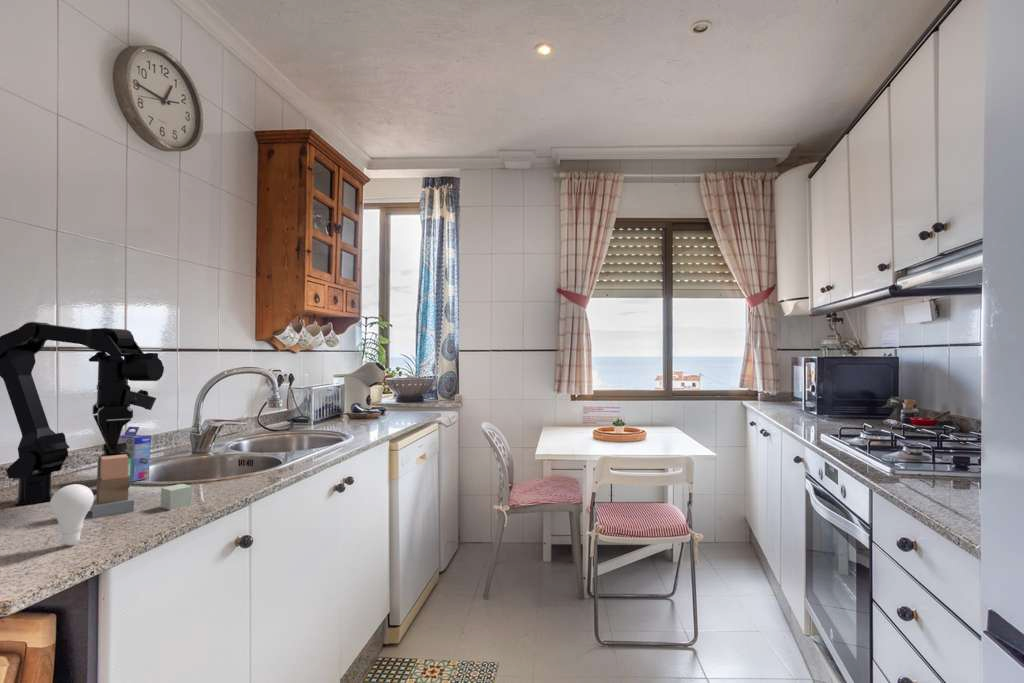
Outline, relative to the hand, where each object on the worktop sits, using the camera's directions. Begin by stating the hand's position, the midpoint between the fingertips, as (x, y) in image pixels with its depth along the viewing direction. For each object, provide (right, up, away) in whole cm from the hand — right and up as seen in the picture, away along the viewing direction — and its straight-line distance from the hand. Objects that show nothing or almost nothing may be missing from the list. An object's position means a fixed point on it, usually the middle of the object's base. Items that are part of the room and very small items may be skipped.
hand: (110, 446), depth 121 cm
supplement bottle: (-8, -14, +10) cm, 19 cm away
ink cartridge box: (-12, -14, +21) cm, 28 cm away
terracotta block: (+7, -5, -7) cm, 11 cm away
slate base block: (+7, -13, -8) cm, 17 cm away
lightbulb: (+15, -12, -29) cm, 35 cm away
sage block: (+18, -13, -4) cm, 23 cm away
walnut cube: (+7, -10, -8) cm, 15 cm away
